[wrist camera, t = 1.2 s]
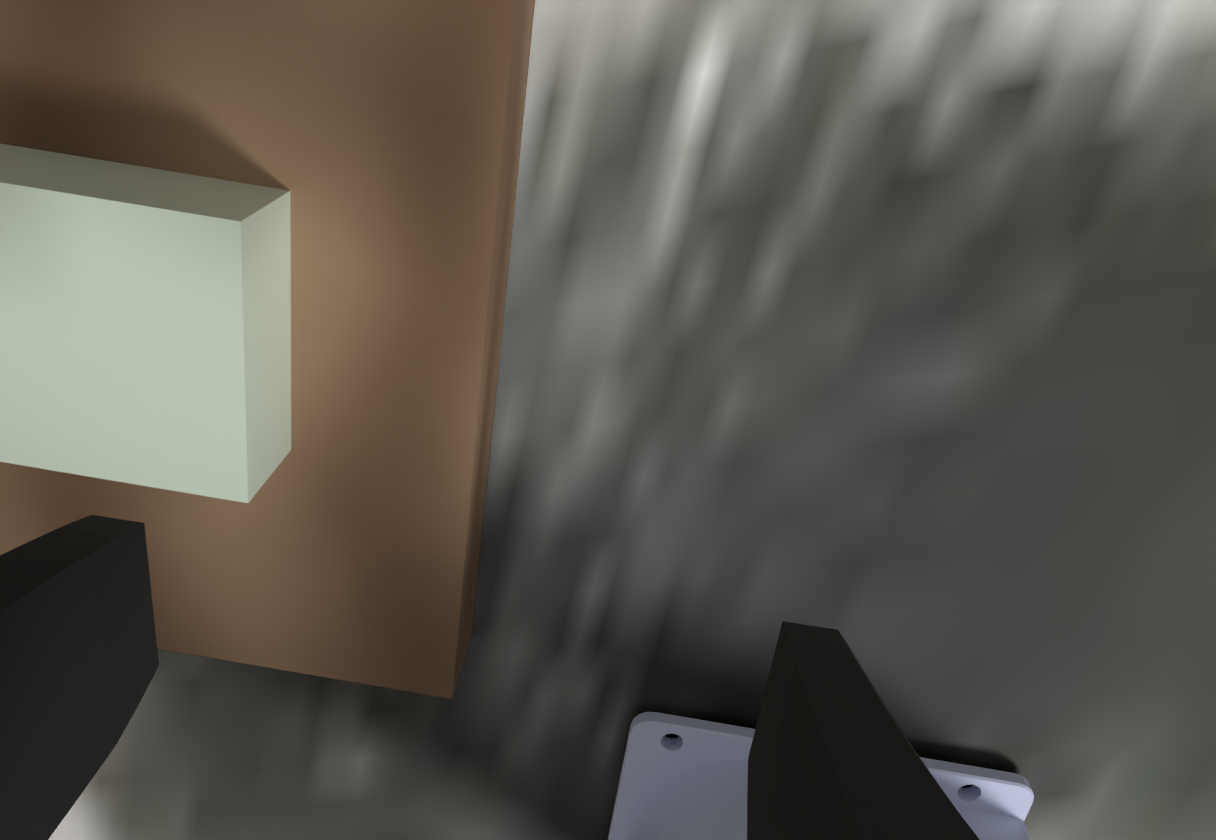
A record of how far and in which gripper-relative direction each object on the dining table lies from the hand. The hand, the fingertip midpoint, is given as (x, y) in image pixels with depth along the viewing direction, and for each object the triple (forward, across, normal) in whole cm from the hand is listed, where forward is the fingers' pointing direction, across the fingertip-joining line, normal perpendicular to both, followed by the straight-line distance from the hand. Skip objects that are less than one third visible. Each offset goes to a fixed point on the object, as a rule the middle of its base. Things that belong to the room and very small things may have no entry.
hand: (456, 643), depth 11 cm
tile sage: (+7, +7, 0) cm, 10 cm away
